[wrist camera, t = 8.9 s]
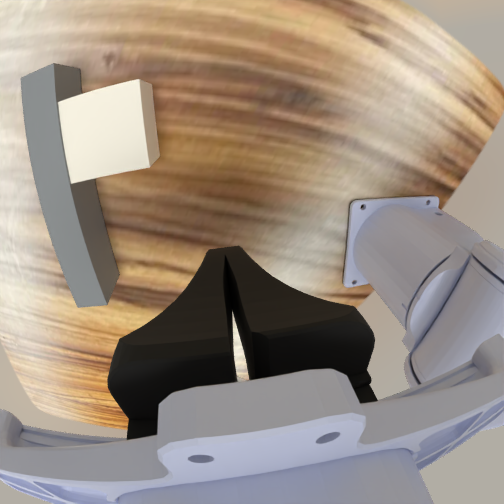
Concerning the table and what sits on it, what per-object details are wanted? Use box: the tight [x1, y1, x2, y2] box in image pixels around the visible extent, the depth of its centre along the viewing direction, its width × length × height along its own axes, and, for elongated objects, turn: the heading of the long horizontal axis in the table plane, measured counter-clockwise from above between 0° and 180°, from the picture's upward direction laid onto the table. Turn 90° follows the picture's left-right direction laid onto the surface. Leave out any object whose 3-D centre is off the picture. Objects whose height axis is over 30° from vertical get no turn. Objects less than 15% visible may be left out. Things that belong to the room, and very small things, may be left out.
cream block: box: [58, 79, 160, 184], centre depth 15 cm, size 5×5×4 cm
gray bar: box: [21, 63, 120, 308], centre depth 16 cm, size 2×16×4 cm, turn 4°
